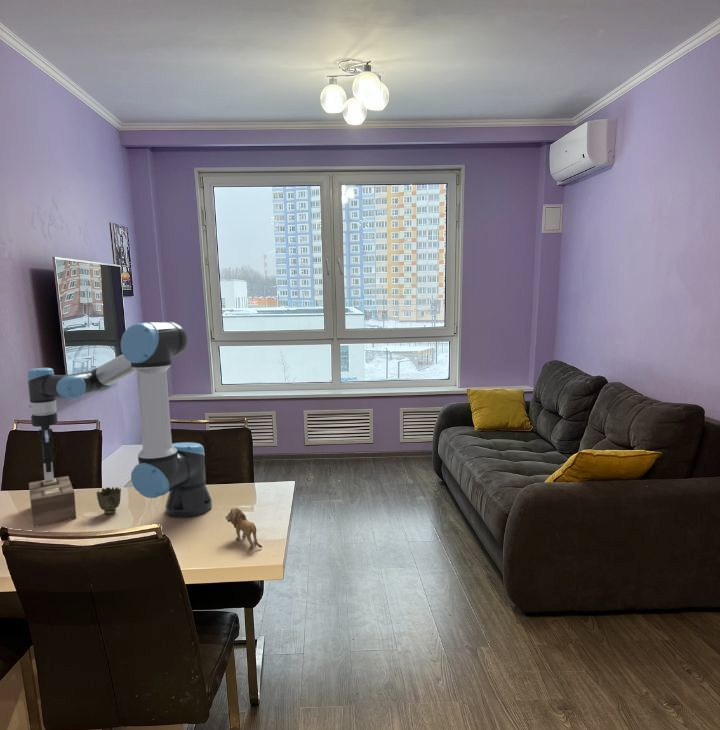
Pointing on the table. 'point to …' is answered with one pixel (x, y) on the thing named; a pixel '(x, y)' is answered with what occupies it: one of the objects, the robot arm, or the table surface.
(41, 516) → the wooden box
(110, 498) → the cup
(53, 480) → the peg
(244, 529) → the lion figurine
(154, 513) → the table surface
